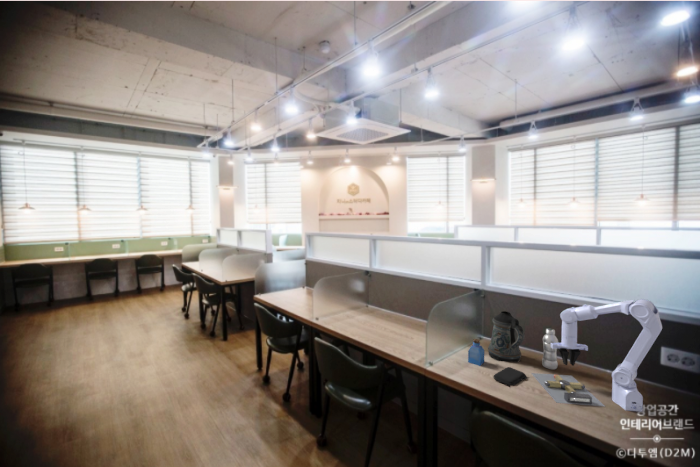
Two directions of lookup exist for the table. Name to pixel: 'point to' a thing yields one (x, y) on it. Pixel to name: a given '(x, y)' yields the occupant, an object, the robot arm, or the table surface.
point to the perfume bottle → (476, 353)
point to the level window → (578, 398)
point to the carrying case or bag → (510, 376)
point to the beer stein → (506, 338)
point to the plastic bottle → (549, 350)
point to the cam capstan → (564, 384)
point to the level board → (559, 393)
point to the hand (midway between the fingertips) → (568, 364)
